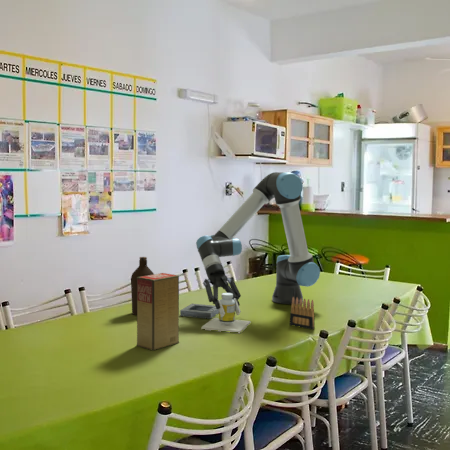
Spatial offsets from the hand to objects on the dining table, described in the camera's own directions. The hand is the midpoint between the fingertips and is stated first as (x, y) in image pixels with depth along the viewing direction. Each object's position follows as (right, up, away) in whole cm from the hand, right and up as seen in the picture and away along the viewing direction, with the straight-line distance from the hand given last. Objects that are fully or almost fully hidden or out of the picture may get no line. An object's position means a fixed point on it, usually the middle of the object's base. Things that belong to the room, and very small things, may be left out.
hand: (231, 314), depth 226 cm
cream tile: (-2, -6, +4) cm, 7 cm away
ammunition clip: (+29, -6, +5) cm, 30 cm away
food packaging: (-27, -8, -22) cm, 35 cm away
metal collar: (-13, -4, +24) cm, 27 cm away
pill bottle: (-2, -4, +4) cm, 6 cm away
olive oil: (-39, -3, +23) cm, 45 cm away
